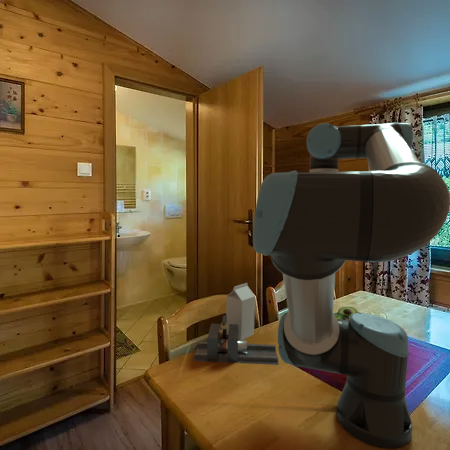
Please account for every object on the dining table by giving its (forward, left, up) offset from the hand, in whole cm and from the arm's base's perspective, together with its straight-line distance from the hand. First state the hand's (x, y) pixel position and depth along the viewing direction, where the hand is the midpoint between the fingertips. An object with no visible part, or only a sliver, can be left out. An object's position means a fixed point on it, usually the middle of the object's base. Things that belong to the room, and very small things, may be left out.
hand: (319, 270), depth 88 cm
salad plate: (+38, -22, -30) cm, 53 cm away
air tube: (+7, +25, -28) cm, 39 cm away
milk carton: (+20, +22, -30) cm, 42 cm away
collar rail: (+7, +23, -29) cm, 38 cm away
